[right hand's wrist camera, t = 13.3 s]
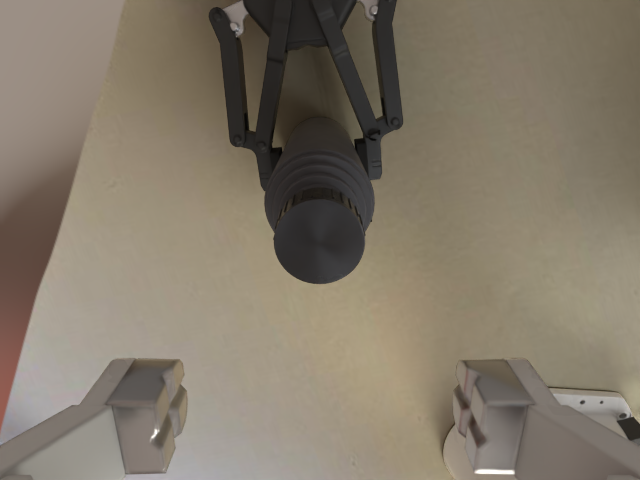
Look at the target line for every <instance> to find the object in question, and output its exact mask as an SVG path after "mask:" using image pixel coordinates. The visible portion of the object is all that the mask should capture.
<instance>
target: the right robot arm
mask: <svg viewBox="0 0 640 480" xmlns="http://www.w3.org/2000/svg"><path fill="white" fill-rule="evenodd" d="M183 377H184V369H183V363H182V362H181V360H180V359H135V358H117V359H114V360H112V361H111V362H110V364H109V365H108V366H107V368H106V369H105V370H104V372H103V373H102V375H101V376H100V377H99V379H98V380H97V381H96V383H95V384H94V385H93V387H92V388H91V390H90V391H89V392H88V394H87V395H86V396H85V398H84V399H83V400H82V402H81V403H80V405H72V406H70V407H68V408H66V409H65V410H63V411H61V412H59V413H57V414H56V415H54V416H52V417H50V418H49V419H47V420H45V421H43V422H41V423H40V424H38V425H36V426H34V427H33V428H31V429H29V430H27V431H25V432H24V433H22V434H20V435H18V436H17V437H15V438H13V439H11V440H9V441H8V442H6V443H4V444H2V445H1V446H0V480H123V479H124V478H125V477H126V475H125V474H155V473H166V471H167V469H168V466H169V464H170V461H171V459H172V456H173V453H174V451H175V441H174V438H175V437H177V436H178V435H179V434H180V433H182V430H183V427H184V425H185V421H186V415H187V405H188V399H187V391H186V389H185V388H184V387H183V386H182V385H181V382H182V379H183ZM456 377H457V379H458V382H459V385H458V386H457V387H456V388H455V389H454V391H453V401H452V405H453V416H454V421H455V425H454V426H453V428H452V429H451V430H450V432H449V434H448V436H447V438H446V440H445V443H444V448H443V458H444V462H445V465H446V468H447V469H448V471H449V473H450V474H451V475H452V476H453V478H454V479H455V480H640V424H639V423H638V422H637V420H636V419H635V418H634V417H633V416H632V412H631V410H630V407H629V405H628V404H627V402H626V401H625V400H624V398H623V397H622V396H621V394H619V393H617V392H607V391H591V390H575V389H559V388H548V387H547V386H546V384H545V383H544V382H543V380H542V379H541V377H540V376H539V375H538V373H537V372H536V371H535V369H534V368H533V367H532V365H531V364H530V363H529V361H528V360H526V359H524V358H513V359H495V360H459V361H458V364H457V368H456Z"/></svg>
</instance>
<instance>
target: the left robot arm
mask: <svg viewBox="0 0 640 480" xmlns="http://www.w3.org/2000/svg"><path fill="white" fill-rule="evenodd" d="M396 1H397V0H240V1H238V2H236V3H234V4H232V5H230V6H227V7H225V8H223V9H221V8H218V7H215V8H213V9H211V11H210V12H209V19H210V22H211V24H212V26H213V29H214V31H215V33H216V36H217V38H218V40H219V42H220V48H221V58H222V68H223V78H224V88H225V97H226V107H227V117H228V127H229V137H230V142H231V144H232V145H233V146H235V147H244V148H248V149H251V150H252V151H253V152H254V153H255V154H256V157H257V163H258V170H259V176H260V182H261V186H262V188H263V190H264V191H266V188H267V184H268V182H269V180H270V178H271V175H272V173H273V171H274V169H275V167H276V165H277V163H278V161H279V159H280V157H281V154H282V147H278V148H272V142H273V141H272V140H273V134H274V128H275V123H276V117H277V111H278V105H279V99H280V93H281V87H282V82H283V76H284V70H285V65H286V61H287V55H288V51H291V50H298V49H301V48H303V47H305V46H312V47H326V46H328V49H329V51H330V54H331V56H332V58H333V61H334V63H335V65H336V68H337V70H338V73H339V75H340V78H341V80H342V83H343V85H344V88H345V90H346V93H347V95H348V97H349V100H350V102H351V105H352V107H353V110H354V112H355V115H356V117H357V120H358V122H359V125H360V127H361V129H362V132H363V138H361V139H354V142H355V150H356V152H357V154H358V156H359V158H360V161H361V163H362V165H363V167H364V169H365V171H366V173H367V176H368V178H369V180H375V179H380V177H381V174H382V164H381V147H380V141H381V139H382V137H383V136H384V135H385V134H387V133H389V132H391V131H393V130H397V129H399V128H400V127H401V126H402V124H403V116H402V107H401V98H400V89H399V81H398V72H397V63H396V55H395V46H394V37H393V28H392V21H393V16H394V11H395V6H396ZM356 2H357V3H360V4H361V5H362V6H363V8H364V15H365V18H366V19H367V20H368V21H371V22H372V36H373V44H374V52H375V59H376V67H377V75H378V82H379V90H380V98H381V106H382V113H383V116H381V117H379V118H377V119H375V116H374V114H373V111H372V108H371V106H370V103H369V101H368V98H367V96H366V93H365V91H364V88H363V86H362V83H361V80H360V78H359V75H358V73H357V70H356V68H355V65H354V63H353V60H352V57H351V55H350V52H349V49H348V46H347V43H346V41H345V38H344V36H343V33H342V31H341V30H342V28H343V27H344V25H345V23H346V21H347V19H348V17H349V15H350V14H351V12H352V10H353V8H354V6H355V4H356ZM249 15H250V16H251V17H252V18H253V19H254V20H255V22H256V23H257V24H258V25H259V26H260V27H261V28H262V30H263V31H264V32H265V33H266V34H267V35H268V37H269V38H270V39H269V46H268V52H267V64H266V70H265V76H264V83H263V89H262V95H261V102H260V108H259V114H258V121H257V127H256V132H253V131H249V122H248V110H247V98H246V87H245V75H244V63H243V52H242V45H241V41H240V38H239V37H241V36H243V35H244V33H245V20H246V18H247V17H248V16H249ZM371 222H372V219H371Z"/></svg>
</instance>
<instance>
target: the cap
mask: <svg viewBox="0 0 640 480" xmlns="http://www.w3.org/2000/svg"><path fill="white" fill-rule="evenodd" d="M274 230H275V235H274V238H273V240H274V248H275V252H276V255H277V258H278V260H279V262H280V263H281V265H282V266H283V267H284V269H285V270H286V271H287V272H288V273H290V274H291V275H292V276H294V277H296V278H297V279H299V280H302V281H304V282H308V283H313V284H326V283H331V282H334V281H337V280H340V279H342V278H343V277H345V276H347V275H348V274H349V273H350V272H352V271H353V269H354V268H355V267H356V266H357V265H358V263H359V261H360V260H361V257H362V255H363V252H364V247H365V232H364V228H363V222H362V219H361V215H360V214H359V213H358V210H357V206H356V205H355V206H354V204H353V203H352V202H351V199H350V198H349V199H348V198H347V197H346V196H345V195H343V193H342V192H341V193H340V192H338V191H336V190H334V189H333V188H332V189H330V188H324V187H323V186H322V187H315V188H313V187H311V188H309V189H306V190H302V191H301V192H299V193H297V194H296V195H295V194H294V195H293V197H292V198H290V199H289V200H288V201H286V203H285V206H284V207H283V209H281V210H280V213H279V217H278V218H277V222H276V225H275V229H274Z"/></svg>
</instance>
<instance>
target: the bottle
mask: <svg viewBox="0 0 640 480" xmlns="http://www.w3.org/2000/svg"><path fill="white" fill-rule="evenodd" d="M322 186H323V187H324V188H330V189H332V188H333V189H334V190H336V191H338V192H340V193H341V192H342V193H343V195H345V196H346V197H347V198H348V199H349V198H350V199H351V202H352V203H353V204H354V206H355V205H356V206H357V210H358V213H359V214H360V215H361V219H362V222H363V228H364V232H365V231H366V229H367V228H368V226H369V224H370V222H371V219H372V216H373V212H374V204H375V203H374V192H373V188H372V185H371V182H370V180H369V178H368V176H367V173H366V171H365V169H364V167H363V165H362V163H361V161H360V158H359V156H358V154H357V152H356V150H355V148H354V146H353V144H352V141H351V139H350V137H349V135H348V133H347V132H346V130H345V129H344V128H343V127H342V126H341V125H340V124H339V123H337V122H336V121H334V120H332V119H329V118H325V117H314V118H310V119H307V120H305V121H303V122H302V123H300V124H299V125H298V126H297V127H296V128H295V129H294V130H293V132H292V133H291V135H290V138H289V140H288V142H287V144H286V146H285V148H284V150H283V152H282V154H281V157H280V159H279V161H278V163H277V165H276V167H275V169H274V171H273V173H272V175H271V178H270V180H269V182H268V184H267V188H266V192H265V212H266V216H267V219H268V222H269V224H270V226H271V228H272V229H273V231H274V233H275V230H274V229H275V225H276V222H277V218H278V217H279V213H280V210H281V209H283V207H284V206H285V203H286V201H288V200H289V199H290V198H292V197H293V195H294V194H295V195H296V194H297V193H299V192H301V191H302V190H306V189H309V188H311V187H313V188H315V187H322Z"/></svg>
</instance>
